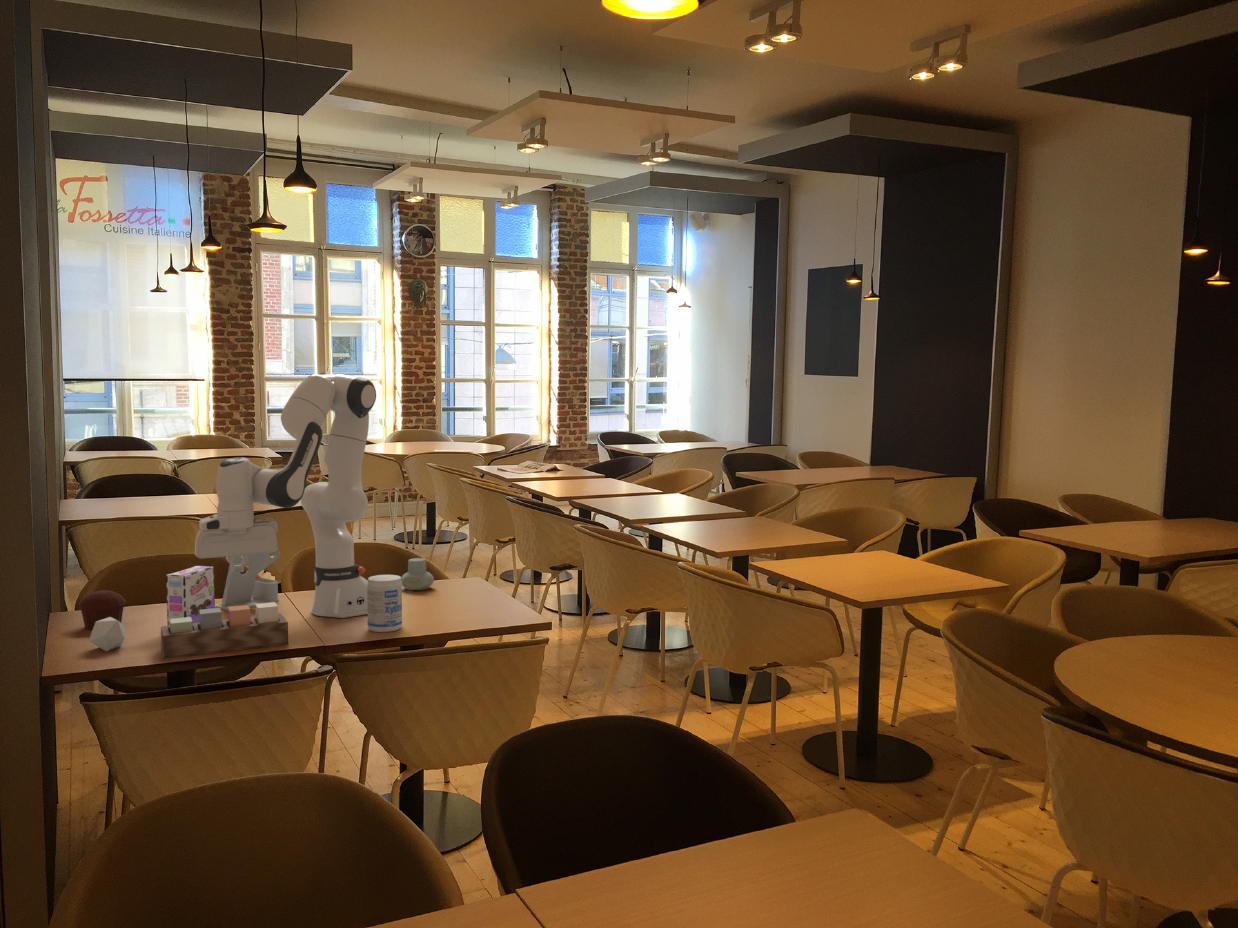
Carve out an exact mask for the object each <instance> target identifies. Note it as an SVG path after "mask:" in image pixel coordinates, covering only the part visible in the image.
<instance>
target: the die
mask: <svg viewBox="0 0 1238 928" xmlns="http://www.w3.org/2000/svg"><path fill="white" fill-rule="evenodd" d="M127 631H128V626H126V625H125V624H124V623H122V621H121V622H119V621H118V620H116V619H114V618H112V617H108V618H105V619H102V620H99V621H96V622H95V625H94V627H93V630H91V633H90V636H89V639H88V642H89V643H92V644H93V645H94V646H96V647H97V648H100V649H101V650H103V651H105V652H109V651H112V650H115V649H117V648H120V647H121V646H122V645H123V643H124V639H125V638H126V634H127Z"/></svg>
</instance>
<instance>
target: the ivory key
mask: <svg viewBox="0 0 1238 928" xmlns="http://www.w3.org/2000/svg"><path fill="white" fill-rule="evenodd" d="M255 605H256V607H255V616H256V623H257V624H258V623H267V622H276V621H278V614H279V605H278V604H277V602H271V603H261V604H255Z"/></svg>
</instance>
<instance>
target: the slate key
mask: <svg viewBox="0 0 1238 928" xmlns="http://www.w3.org/2000/svg"><path fill="white" fill-rule="evenodd" d="M222 612H223V611H222V609H220V608H216V607H215V608H211V609H202V610H199V629H200V630H203V629H213V628H222V620H223V614H222Z"/></svg>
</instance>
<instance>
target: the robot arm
mask: <svg viewBox="0 0 1238 928" xmlns="http://www.w3.org/2000/svg"><path fill="white" fill-rule="evenodd" d="M376 400H377V391H376V387H375V385H374V382H372V381H371V380H369V379H367V378H364V377H362V376H354V375H349V374H343V373H340V374H336V373H333V374H332V373H324V372H322V373H313V374H310V375H308V376H307V377H305V378H304V379H303V380H302V381H301V383H300V384H298V386H297V387H296V388H295V390H294V391H293V392H292V394H291V396H290V397H289V398H288V400H287V402H286V403H285V405H284V407H283V409H282V411H281V414H280V421H281V425H282V427H283V429H284V430H285V431H286V433H287V434H289V436H290V437H292V438H293V439H295V440H296V444H295V446H294V449H293V451H292V454H291V456H290V458H289V461H288V463H287V464H286V465H285V466H283V467H282V468H279V469H278V468H277V469H274V468H266V467H262V466H259V465H258V464H257V465H256V464H255V463H252V461H250V458H247V457H243V456H242V457H231V458H227V459H224V460H223V461H221V462H220V463H219V464H218V467H217V472H216V485H215V486H216V495H217V498H218V505H217V507H216V510H217V513H215V514H212V515H209V516H207V517H203V518H201V519H199V521H198V522H199V523H198V526H199V528H200V529H198V531H197V532H196V536H195V541H194V542H195V543H194V555H195V557H197V558H198V559H209V558H210V559H211V558H226V561H227V562H228V564H229V565H231V572H232V573H236V572H240V573H243V572H245V570H244V569H245V566H244V565H245V563H246V561H247V560H248V555H250V554H262V553H270V554H272V553H273V554H274V553H275V552H276V550H277V549H278V548H279V547H278V537H277V533H278V531H279V525H278V522H277V520H275V519H273V518H272V517H266V518H255V517H254V516H255V515H254V514H255V512H254V510H255V509H254V504H259V505H265V506H266V505H267V506H275V507H277V508H278V507H279V508H283V509H291V508H293V507H294V506H296V505H297V504H299V502H300V503H301V507H302V508H303V510H304V511H305V513H306V514H307V517H308V519H309V523H310V526H311V529H312V532H313V533H312V534H313V537H314V545H315V566H314V571H313V572H314V573H313V575H314V585H315V590H314V597H313V598H314V599H313V605H312V608H311V611H310V612H311V614H312V615H314V616H319V617H327V618H328V617H332V618H339V619H345V618H351V617H357V616H363V615H368V597H367V585H368V584H367V583H368V579H366V578H364V577H363V576H361V575H363V574H364V573H365V572H366V569H365V567H364V566H360V565H358V564H356V563H355V548H354V547H355V545H354V544H355V543H354V541H355V540H354V538H353V536H352V534H351V533H350V531H349V529H348V527H347V525H346V523H349V522H350V523H351V522H355V521H359V520H361V519H362V518H363V517H364V516H365V515H366V513H367V511H368V509H369V508H368V507H369V500H368V499H369V498H368V497H367V495H366V493H365V492H364V488H363V487H364V486H363V482H362V481H363V480H362V468H363V467H362V466H363V460H364V455H365V449H366V445H367V441H368V436H369V435H368V434H369V429H370V428H369V425H370V424H369V423H370V414H369V413H370V411H371V410H372V409H373V407H374V405H375V402H376ZM329 411H330V412H334V418H333V420H332V424H331V426H330V430H329V435H328V439H327V444H326V448H325V451H324V456H323V457H324V458H323V462H324V464H325V466H326V468H327V473H328V475H327V476H328V477H327V478H328V482H327V481H321V482H315V483H311V484H309V485H307V486H306V483H307V479H308V477H309V474H310V472H311V469H312V467H313V465H314V463H315V459H316V456H317V455H318V452H319V449H320V446H321V444H322V439H323V430H322V426H323V423H324V421H325V419H326V417H327V416H328V414H329ZM238 555H241V558H242V559H243V560H242V562H241V564H240V565H233V563H232V562H231V560H233V556H238Z"/></svg>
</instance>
